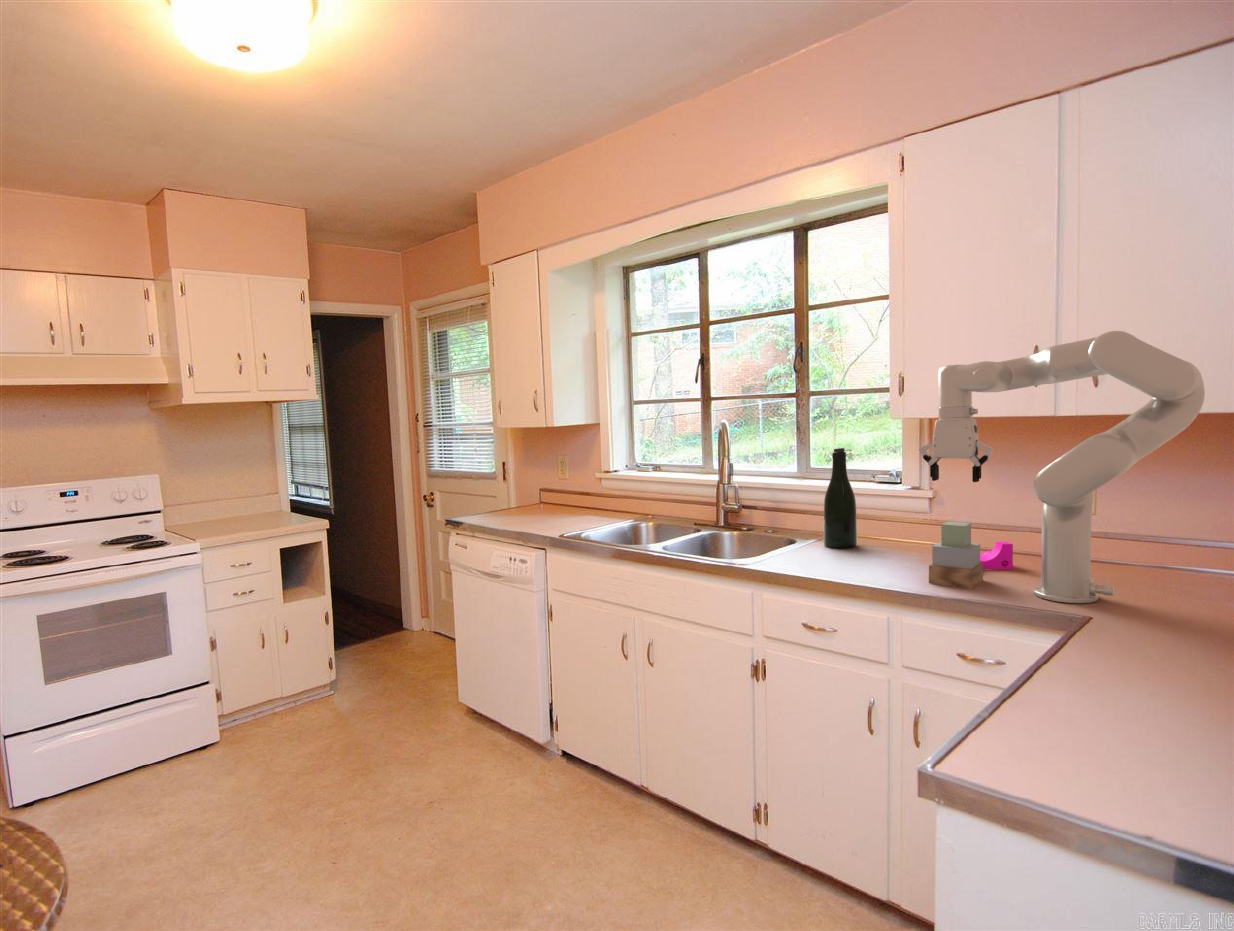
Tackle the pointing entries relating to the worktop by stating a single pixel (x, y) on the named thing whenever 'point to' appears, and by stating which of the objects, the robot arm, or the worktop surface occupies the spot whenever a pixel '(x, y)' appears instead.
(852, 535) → the dark green wine bottle
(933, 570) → the tower bottom
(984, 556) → the toy block
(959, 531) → the sage cube
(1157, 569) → the worktop surface
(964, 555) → the tower top
